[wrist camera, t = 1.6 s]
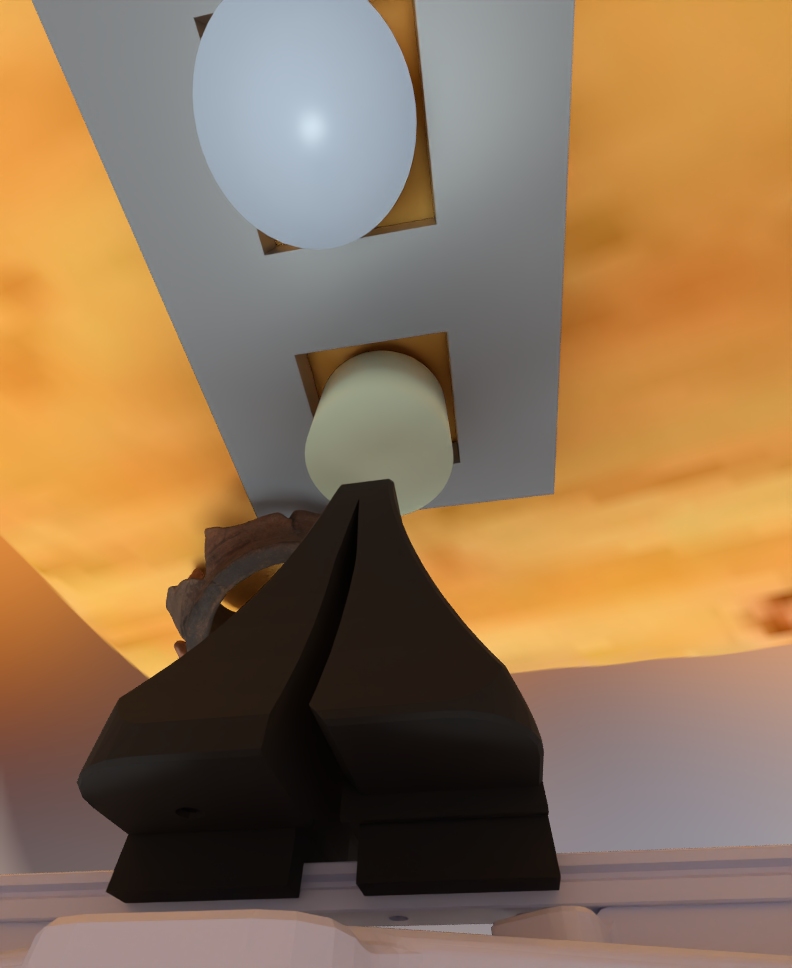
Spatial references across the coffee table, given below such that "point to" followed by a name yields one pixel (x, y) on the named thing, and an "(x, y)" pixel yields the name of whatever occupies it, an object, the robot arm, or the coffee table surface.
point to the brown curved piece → (231, 570)
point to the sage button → (382, 429)
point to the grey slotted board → (366, 261)
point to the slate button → (305, 116)
